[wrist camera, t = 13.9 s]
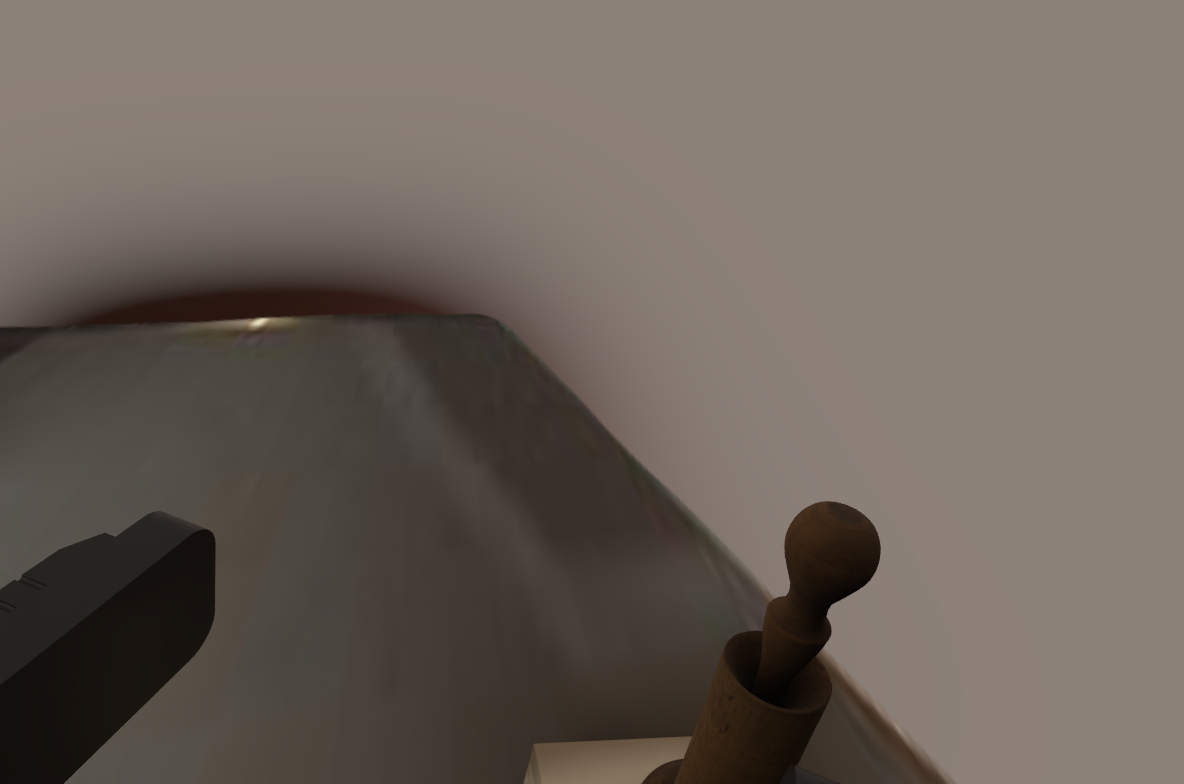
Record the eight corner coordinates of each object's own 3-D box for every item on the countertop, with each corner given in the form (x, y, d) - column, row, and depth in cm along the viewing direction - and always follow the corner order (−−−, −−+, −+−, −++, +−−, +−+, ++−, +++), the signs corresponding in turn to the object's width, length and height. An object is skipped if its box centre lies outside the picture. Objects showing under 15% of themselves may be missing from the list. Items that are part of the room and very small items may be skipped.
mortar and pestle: (600, 799, 36) (715, 453, 28) (730, 783, 38) (871, 458, 30) (652, 961, 31) (813, 588, 23) (801, 930, 33) (995, 581, 25)
